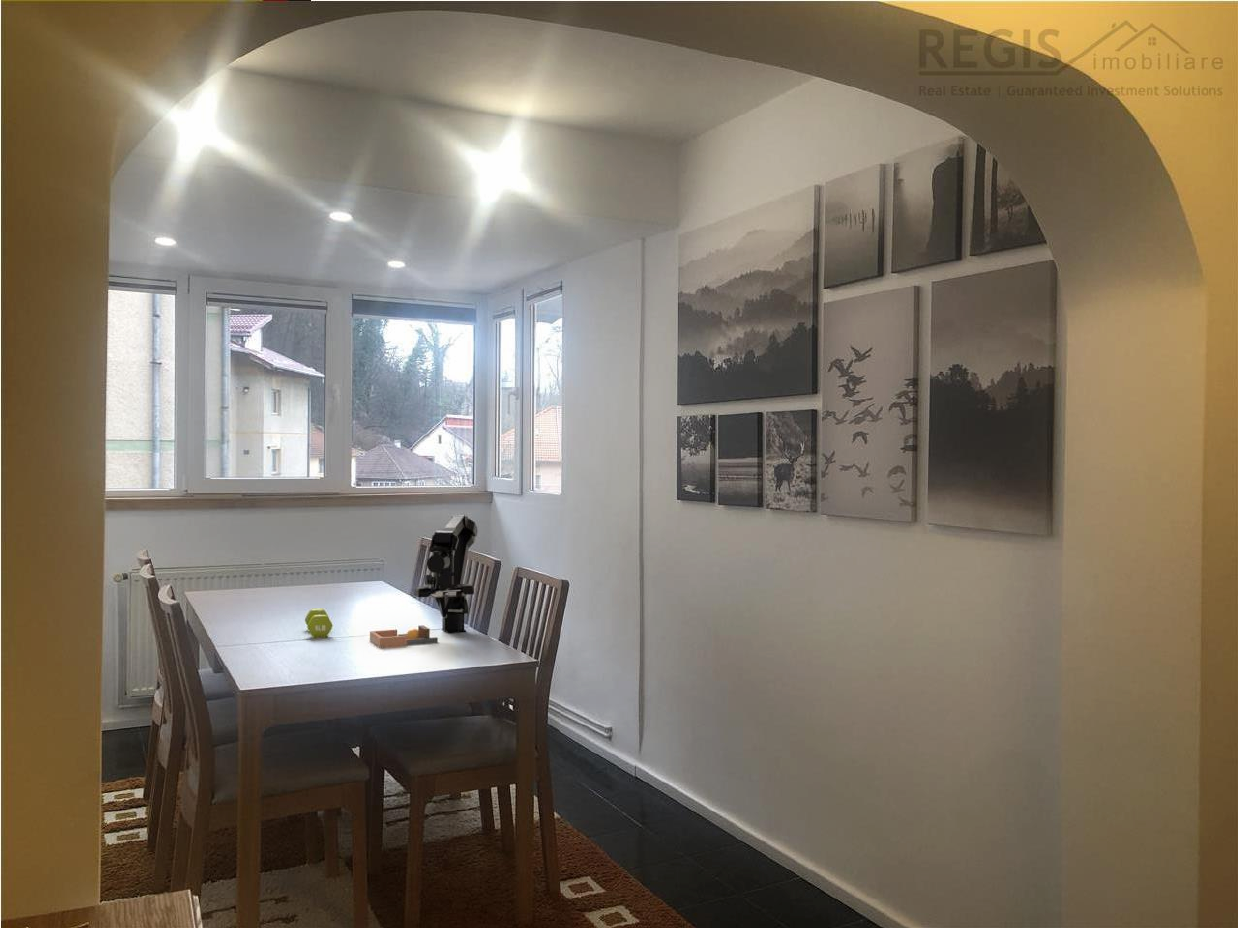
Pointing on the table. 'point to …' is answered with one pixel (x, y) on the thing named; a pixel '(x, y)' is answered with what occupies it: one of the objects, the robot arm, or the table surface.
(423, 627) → the brown wooden block
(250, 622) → the table surface
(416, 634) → the ball
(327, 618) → the dumbbell
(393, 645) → the pocket
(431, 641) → the track
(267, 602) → the table surface
